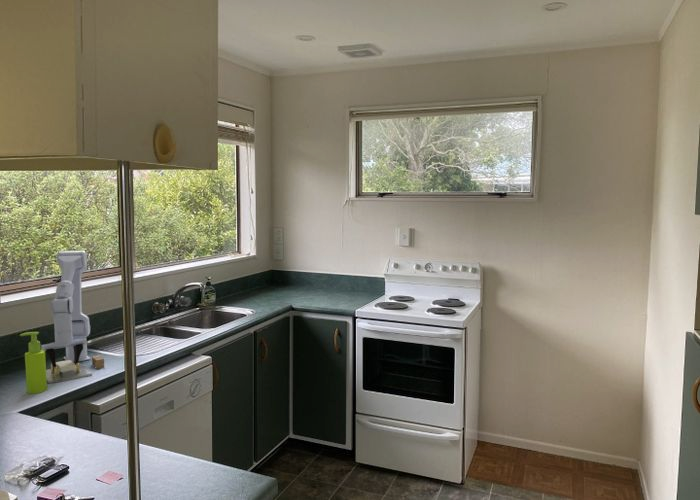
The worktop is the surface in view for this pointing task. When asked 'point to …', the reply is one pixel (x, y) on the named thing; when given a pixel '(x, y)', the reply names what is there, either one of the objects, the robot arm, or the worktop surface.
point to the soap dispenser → (35, 365)
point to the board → (65, 365)
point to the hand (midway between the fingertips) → (65, 366)
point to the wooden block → (97, 361)
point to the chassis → (66, 373)
